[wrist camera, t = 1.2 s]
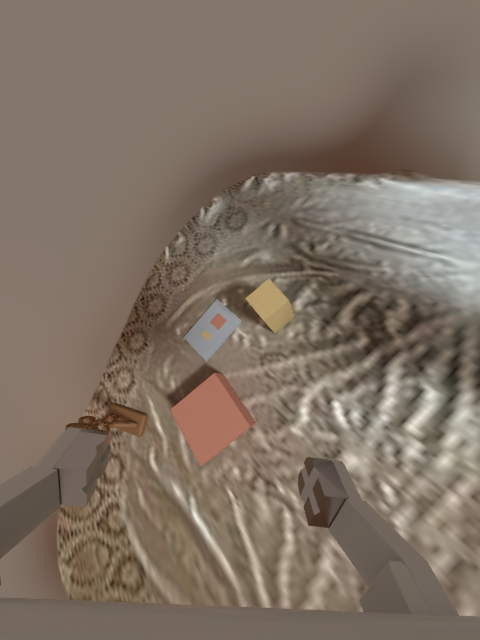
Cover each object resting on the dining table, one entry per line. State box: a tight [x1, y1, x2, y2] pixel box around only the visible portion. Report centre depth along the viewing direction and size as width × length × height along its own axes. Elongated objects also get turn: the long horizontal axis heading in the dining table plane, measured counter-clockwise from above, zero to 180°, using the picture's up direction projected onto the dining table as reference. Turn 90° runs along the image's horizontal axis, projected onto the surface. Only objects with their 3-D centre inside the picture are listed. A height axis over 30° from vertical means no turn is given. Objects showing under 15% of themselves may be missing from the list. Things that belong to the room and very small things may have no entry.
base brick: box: [171, 373, 256, 466], centre depth 40 cm, size 10×10×4 cm
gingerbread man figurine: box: [65, 404, 148, 437], centre depth 41 cm, size 9×4×12 cm, turn 78°
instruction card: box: [184, 299, 242, 362], centre depth 45 cm, size 10×7×1 cm
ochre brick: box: [245, 279, 295, 333], centre depth 38 cm, size 4×4×9 cm
